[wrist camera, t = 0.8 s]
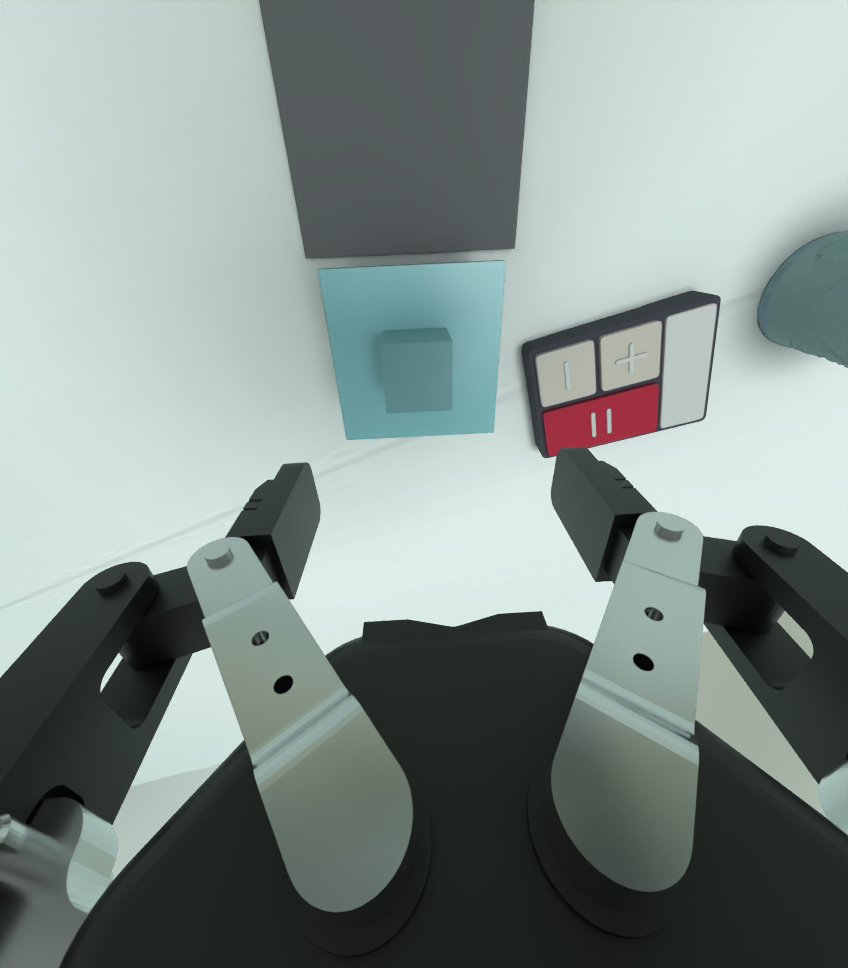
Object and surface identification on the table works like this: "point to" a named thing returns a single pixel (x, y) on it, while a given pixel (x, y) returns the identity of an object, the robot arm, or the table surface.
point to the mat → (402, 120)
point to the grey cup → (810, 300)
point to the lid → (415, 346)
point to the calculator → (623, 374)
